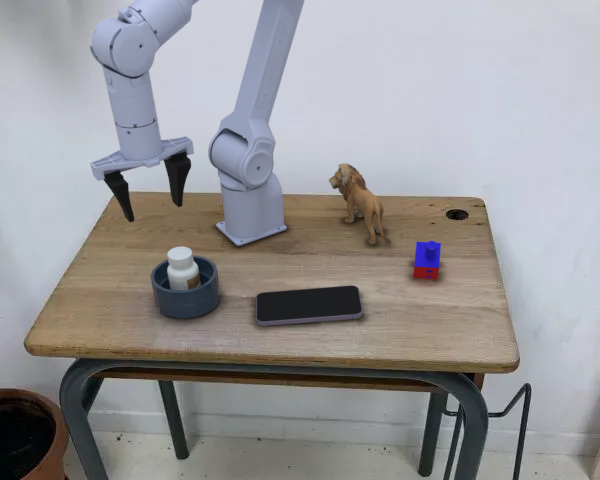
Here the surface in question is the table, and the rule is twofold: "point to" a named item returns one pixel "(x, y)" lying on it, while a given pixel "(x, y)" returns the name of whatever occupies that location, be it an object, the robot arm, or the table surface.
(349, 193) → the lion figurine
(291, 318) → the smartphone
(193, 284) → the pill bottle
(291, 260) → the table surface
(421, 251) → the toy building block
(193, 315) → the bowl
